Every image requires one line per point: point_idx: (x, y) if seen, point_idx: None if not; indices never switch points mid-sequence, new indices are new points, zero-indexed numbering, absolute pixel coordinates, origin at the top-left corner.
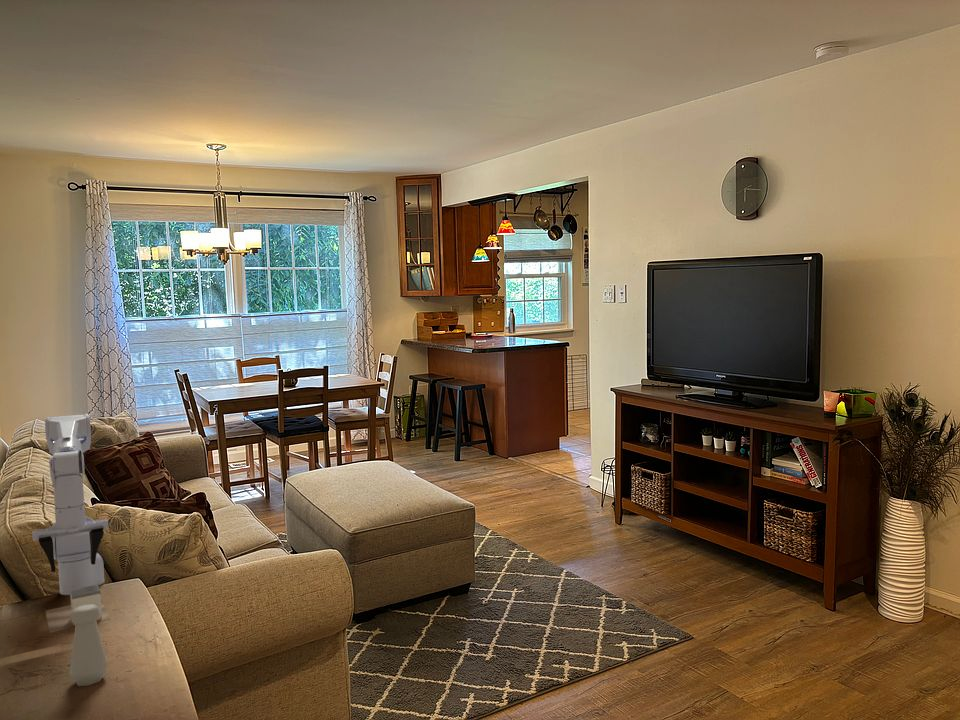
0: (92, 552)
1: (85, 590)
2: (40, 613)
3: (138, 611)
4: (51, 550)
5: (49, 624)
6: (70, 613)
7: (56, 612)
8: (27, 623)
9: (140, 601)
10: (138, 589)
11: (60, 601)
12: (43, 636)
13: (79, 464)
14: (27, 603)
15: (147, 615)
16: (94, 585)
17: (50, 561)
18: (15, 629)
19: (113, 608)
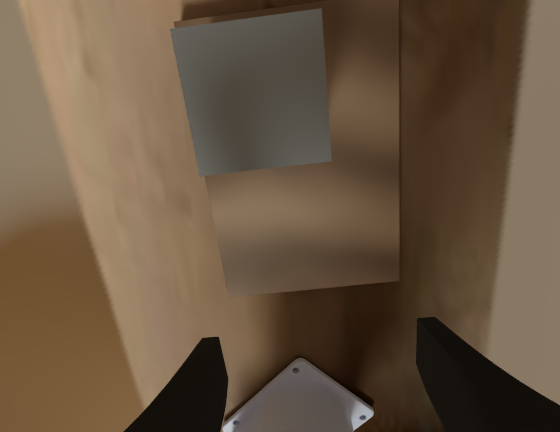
0: (189, 389)
1: (253, 94)
2: (405, 306)
3: (96, 129)
4: (530, 428)
5: (394, 108)
6: (322, 196)
7: (366, 238)
8: (447, 232)
9: (106, 239)
10: (130, 359)
11: (348, 379)
12: (411, 46)
13: None
14: (432, 411)
15: (52, 54)
16: (213, 166)
17: (480, 358)
18: (486, 194)
19: (188, 219)
